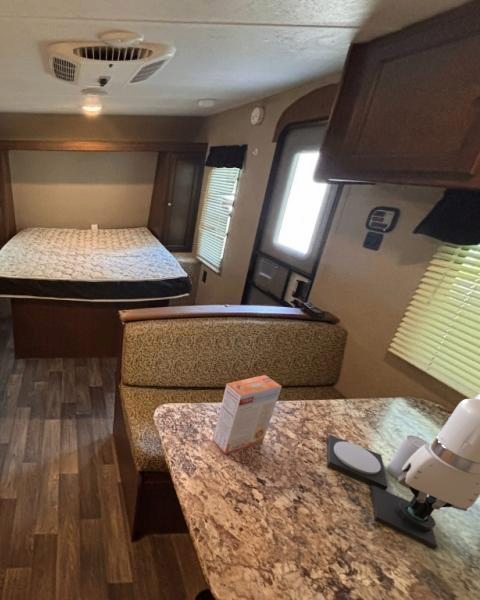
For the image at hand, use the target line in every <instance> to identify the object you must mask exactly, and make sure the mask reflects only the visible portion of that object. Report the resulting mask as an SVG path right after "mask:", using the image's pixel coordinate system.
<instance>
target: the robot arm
mask: <svg viewBox="0 0 480 600" xmlns="http://www.w3.org/2000/svg"><path fill="white" fill-rule="evenodd" d="M402 472H404V474H402V475H401V476H400V477H398V480H397V481H398V484H400V485H401V486H402V487H405V488H406V489H408V490H410V493H412V495H413V497H412V499H411V500H409V501H410V508H412V511H413V515H415V516H419V517H420V518H421V519H425V517H426V516H427V515H428V516H430V515H432V513H433V512H434V510H440V509H441V508H453V509H456V510H459V511H463V512H467V511H468V509H470V508H471V507H472V506H474V504H475V503H476V502H477V500H478V499H479V497H480V393H478V394H477V395H476V396H475V397H474V398H465V399H462V400H461V401H459V403H458V404H457V405H456V407H455V409H454V410H453V412H452V413H451V415H450V416H449V417H448V419H447V421H446V422H445V423H444V425H443V427H442V428H441V429H440V431H439V433H438V434H437V435H436V437H435V438H434V440H433V442H432V443H431V444H430V443H429V444H425V445H423V446H422V447H420V448H419V449H418V450H417V451H416V452H415V453H414V454H413V455H412V456H411V457H410V458H409V459H408V461H407V462H406V463H405V464H404V466H403V468H402Z"/></svg>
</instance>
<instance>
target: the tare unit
mask: <svg viewBox="0 0 480 600" xmlns="http://www.w3.org/2000/svg"><path fill="white" fill-rule="evenodd" d="M369 492H370V498H371V506H372V511H373V518H374V521H375V522H376V523H379V524H380V525H383V526H384V527H386V528H389V529H391V530H393V531H395V532H397V533H400V534H401V535H403V536H404V537H405V536H406V537H407V538H410V539H412V540H413V541H416V542H418V543H420V544H423V545H424V546H427V547H428V548H430V549H433V550H436V549H437V547H438V541H437V539H436V536H435V533H434V528H435V527H436V525H437V524H436V520H435V518H434V517H433V516H432V514H430V516H428V515H427V519H426V520H425V521H424V522H422V521H419V520H417V519H415V518H414V517H413V516H411V515H410V514H409V513H408V511H407V509H408V508H409V507H410V501H411V500H407V499H405V498H403V497H401V496H398V495H396V494H394V493H392V492H390V491H387V490H386V491H385V490H382V489H380V488H378V487H376V486H373V485H372V486H370V488H369Z"/></svg>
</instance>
